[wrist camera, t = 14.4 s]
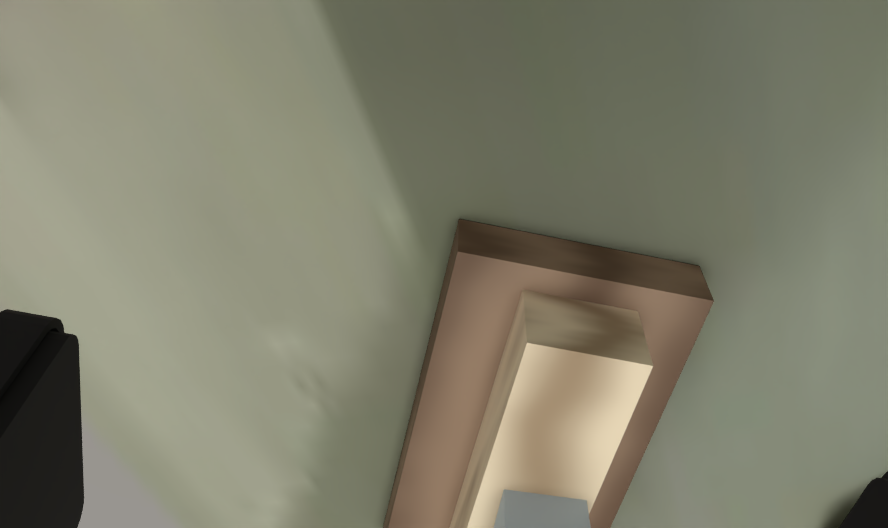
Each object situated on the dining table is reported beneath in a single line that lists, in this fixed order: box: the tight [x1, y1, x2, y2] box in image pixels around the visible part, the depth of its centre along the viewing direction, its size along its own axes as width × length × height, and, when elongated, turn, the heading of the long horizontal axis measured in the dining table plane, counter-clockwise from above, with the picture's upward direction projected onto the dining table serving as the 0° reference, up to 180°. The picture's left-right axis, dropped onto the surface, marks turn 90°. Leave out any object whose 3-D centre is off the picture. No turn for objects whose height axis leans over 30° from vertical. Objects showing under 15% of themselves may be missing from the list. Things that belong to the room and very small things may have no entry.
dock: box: [383, 219, 714, 528], centre depth 45 cm, size 12×22×3 cm, turn 168°
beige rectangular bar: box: [449, 290, 653, 528], centre depth 42 cm, size 6×18×4 cm, turn 168°
